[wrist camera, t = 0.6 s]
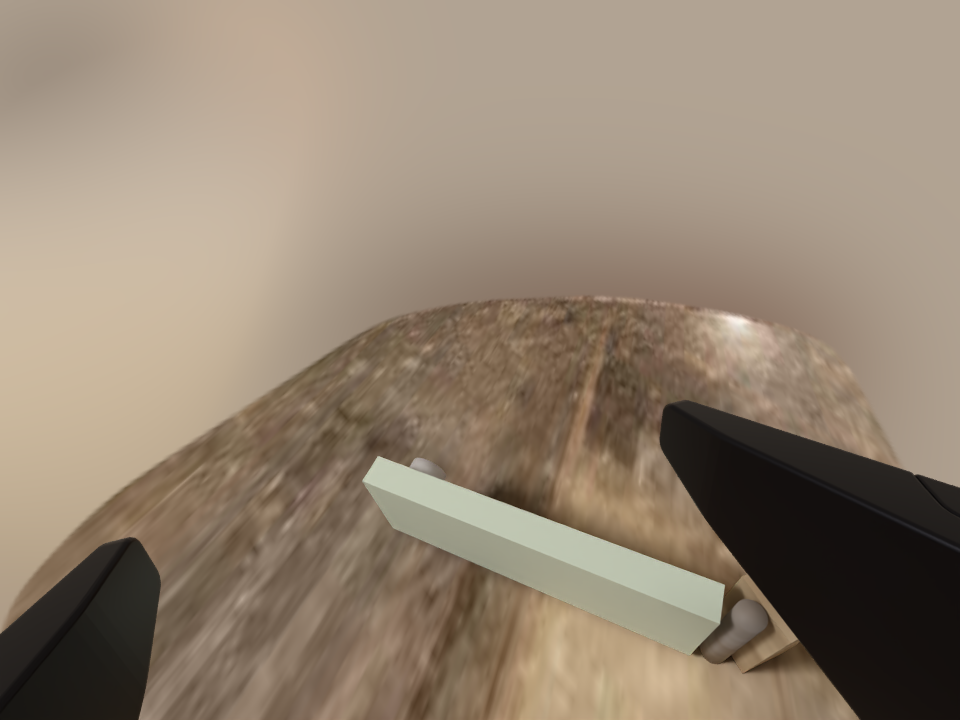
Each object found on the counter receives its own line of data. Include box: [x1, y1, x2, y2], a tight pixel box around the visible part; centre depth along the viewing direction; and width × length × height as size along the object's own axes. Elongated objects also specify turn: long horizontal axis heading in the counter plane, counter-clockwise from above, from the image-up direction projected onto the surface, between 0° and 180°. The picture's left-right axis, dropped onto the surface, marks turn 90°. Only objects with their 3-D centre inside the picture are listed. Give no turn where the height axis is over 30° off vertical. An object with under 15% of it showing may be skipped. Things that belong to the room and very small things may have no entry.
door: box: [363, 456, 725, 655], centre depth 19 cm, size 2×13×5 cm, turn 66°
